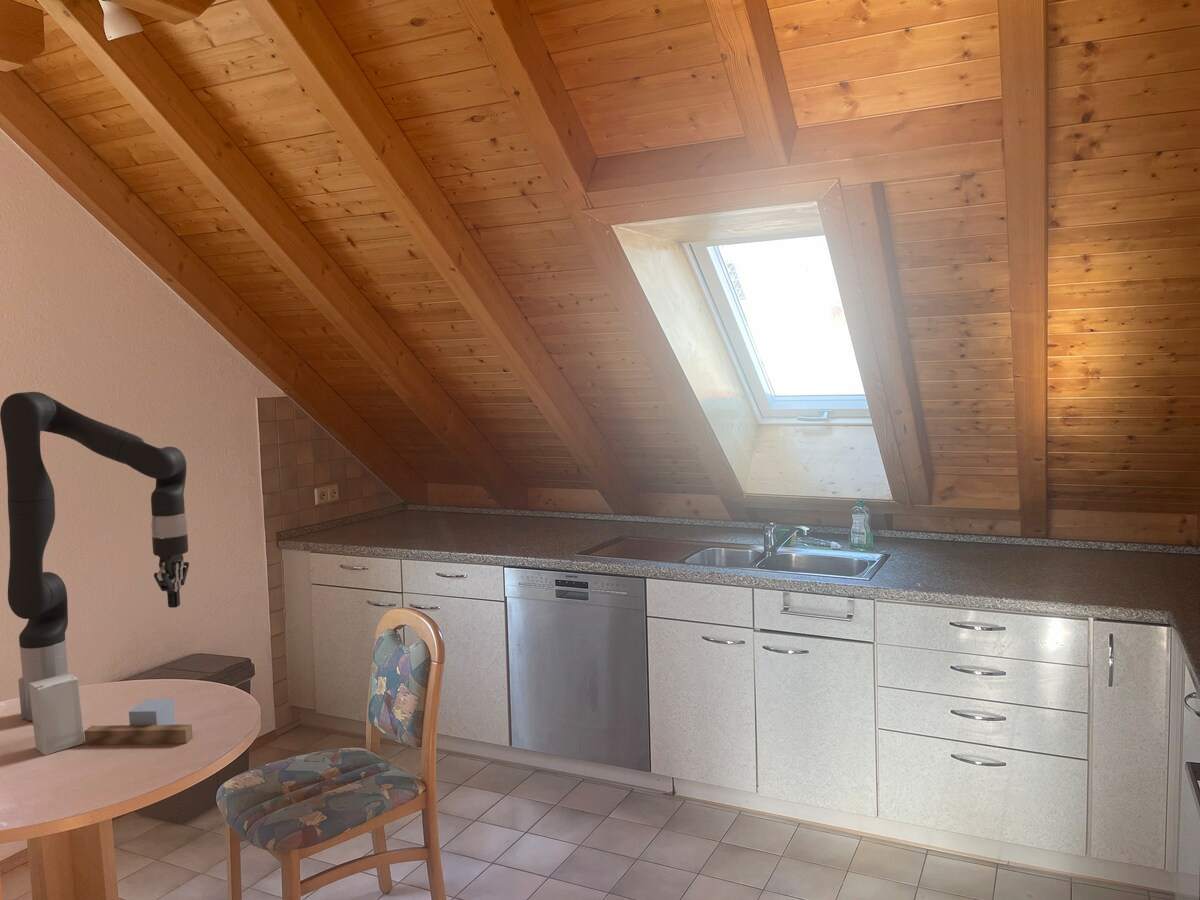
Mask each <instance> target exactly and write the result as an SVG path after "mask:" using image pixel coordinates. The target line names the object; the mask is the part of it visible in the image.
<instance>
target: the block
mask: <svg viewBox="0 0 1200 900" xmlns="http://www.w3.org/2000/svg"><path fill="white" fill-rule="evenodd" d="M174 703H175V701H174V697H173V698H171V697H170V698H164V697H163V698H146V699H144V700H143V701H142V702H140V703H139V704H137V705H136V706H135V707H133V708H131V709H130V710H129V711H128V717H129V718H128V719H129V725H176V720H175V719H176V718H175V704H174Z"/></svg>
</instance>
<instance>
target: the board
mask: <svg viewBox="0 0 1200 900" xmlns="http://www.w3.org/2000/svg"><path fill="white" fill-rule="evenodd" d="M83 731H84V741H85V743H84V745H85V746H87V745H92V746H93V745H95V746H97V745H153V744H155V745H156V744H157V745H159V744H161V745H162V744H163V745H164V744H165V745H166V744H170V745H171V744H173V745H174V744H188V743H189V742H191V740H192V739H193V737H194V736H193V724H192V723H191V724H189V723H188V724H174V725H130V724H125V725H120V724H119V725H118V724H117V725H91V726H90V727H87V729H85V730H83Z"/></svg>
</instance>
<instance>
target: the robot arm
mask: <svg viewBox="0 0 1200 900" xmlns="http://www.w3.org/2000/svg"><path fill="white" fill-rule="evenodd" d="M0 425H1V432H2V437H3V444H4V448H5V456H6V457H5V458H6V479H7V480H6V482H7V513H8V514H7V515H8V525H9V526H8V527H9V529H8V530H9V568H8V569H9V570H8V580H7V602H8V605H9V608H10V609H11V611H12V613H13V614H14V615H15V616H17V617H18V618H20V619H24V620H28V621H27V623H26V625H25V627H24V628H23V629H22V631H21V632H20V633H19V636H18V644H19V652H20V653H19V655H20V664H21V677H20V678H18V681H17V682H18V692H19V706H20V716H21V720H27V721H29V722H33V718H32V709H31V701H30V692H29V683H32V682H36V681H40V680H44V679H47V678H51V677H55V676H58V675H62V674H65V673H69V666H68V657H67V642H66V632H67V628H68V626H69V625H68V624H69V615H68V614H69V609H68V607H69V606H68V605H69V604H68V602H69V601H68V591H67V587H66V584H65V583H64V581H63V580H62V577H60V576H59V575H58V574H57V573H54V572H51V571H43V569H44V568H43V566H44V562H43V561H44V553H45V549H46V547H47V544H48V541H49V539H50V535H51V533H52V531H53V528H54V523H55V519H56V501H55V499H56V498H55V497H56V496H55V490H54V486H53V482H52V480H51V477H50V474H49V472H48V471H47V468H46V466H45V463H44V462H43V457H42V453H41V432H45V433H46V432H47V433H49V434H50V433H51V434H55V435H60V436H63V437H66V438H69V439H71V440H73V441H76V442H77V443H79V444H81V445H82V446H84V447H85V448H87V449H89V451H92V452H93V453H96V454H98V455H100V456H102V457H104V458H107V459H110V460H112V461H115V462H117V463H120V464H123V465H126V466H128V467H129V468H131V469H132V470H135V471H137V472H138V473H141V474H142V475H144V476H146V477H149V478H151V479H155V488H154V489H153V491H152V493H151V495H150V496H151V497H150V506H151V522H150V523H151V526H150V527H151V541H152V554H153V555H154V556H156V557H158V558H159V560H158V561H159V562H158V566H159V567H158V568H159V570H158V572H154V573H153V578H154V579H155V581H156V583H157V585H158V587H159V588H160V591H162V592H165V593H166V595H167V607H168V608H169V609H170V608H172V609H175V608H177V607H180V606H181V596H180V595H181V594H180V591H181V589H182V586H184V585H185V582H186V578H187V575H188V570H189V567H190V562H189V561H184V555H185V554H187V553H188V551H189V540H188V538H189V537H188V522H187V518H186V511H185V510H186V507H185V496H184V491H185V485H186V479H187V462H186V461H187V460H186V457H185V454H184V453H183V452H182V451H181V450H180V449H179V448H178V447H175V446H165V447H157V446H154V445H152V444H149V443H146V442H145V441H144V439H143V438H141V437H140V436H138V435H136V434H133V433H131V432H127V431H126V430H123V429H120V428H118V427H115V426H112V425H109V424H106V423H103V422H101V421H98V420H95V419H93V418H92V417H89V416H86V415H85V414H82V413H81V412H79V411H76V410H74V409H72V408H71V407H68V406H67V405H65V404H63V403H62V402H60V401H58V400H56V399H54V398H53V397H51V396H50V395H48V394H45V393H43V392H40V391H25V392H15V393H12V394H10V395H9V396H7V397H6V398H5V399H4V400H3V402H2V404H1V406H0Z"/></svg>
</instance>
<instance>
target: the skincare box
mask: <svg viewBox="0 0 1200 900" xmlns="http://www.w3.org/2000/svg"><path fill="white" fill-rule="evenodd" d="M79 681H80V680H79V678H78V677H76V676H75V675H73V674H71V673H70V672H68V673H65V674H62V675H58V676H55V677H51V678H47V679H44V680H40V681H36V682H32V683H29V692H30V701H31V709H32V718H33V721H32V726H33V733H34V743H35V749H37V751H38V752H40V753H41V754H42V755H44V756H47V755H50V754H54V753H56V752H60V751H64V750H67V749H71V748H72V747H77V746H79V745H82V744H85V735H84V731H85V730H84V725H83V716H82V714H83V713H82V704H81V694H80V684H79Z"/></svg>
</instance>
